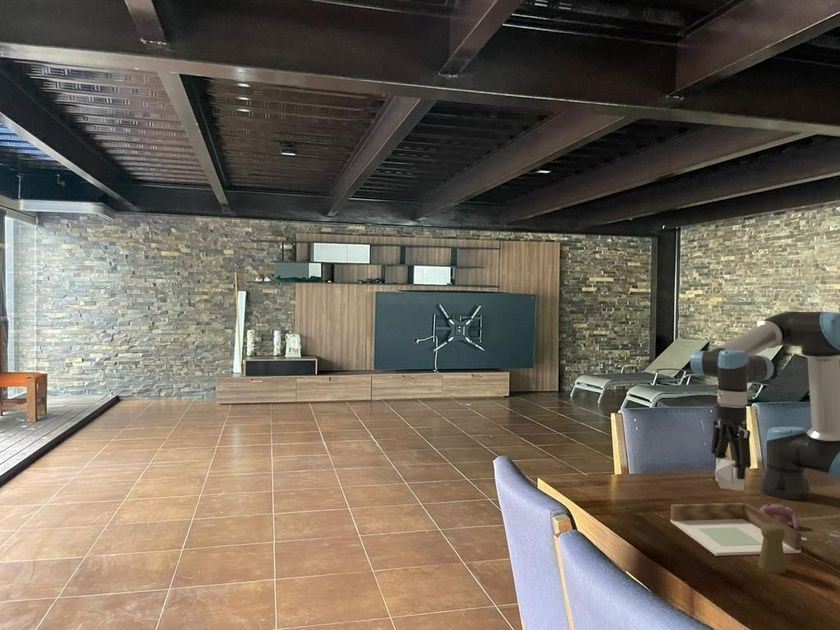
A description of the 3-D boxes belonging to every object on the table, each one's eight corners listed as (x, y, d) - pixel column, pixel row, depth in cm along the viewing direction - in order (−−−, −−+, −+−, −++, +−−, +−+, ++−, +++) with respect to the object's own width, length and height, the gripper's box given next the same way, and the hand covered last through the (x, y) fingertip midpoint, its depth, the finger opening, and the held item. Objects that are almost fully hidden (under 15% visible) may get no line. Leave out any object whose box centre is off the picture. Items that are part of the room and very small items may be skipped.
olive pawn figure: (753, 563, 156) (754, 521, 156) (775, 562, 157) (776, 520, 157) (768, 574, 150) (769, 530, 150) (791, 573, 151) (792, 529, 151)
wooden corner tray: (744, 519, 187) (745, 502, 187) (800, 552, 163) (801, 533, 163) (670, 521, 185) (670, 504, 184) (716, 555, 161) (716, 536, 161)
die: (748, 488, 173) (729, 457, 178) (759, 482, 165) (739, 449, 170) (722, 499, 173) (703, 467, 177) (732, 493, 165) (712, 460, 170)
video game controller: (795, 531, 182) (793, 507, 185) (800, 529, 178) (797, 505, 181) (759, 527, 185) (757, 503, 188) (762, 525, 181) (760, 501, 184)
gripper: (699, 398, 181) (697, 474, 182) (741, 412, 160) (739, 497, 161) (723, 398, 181) (720, 474, 182) (768, 412, 161) (765, 496, 162)
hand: (729, 484), depth 172 cm, fingers closed on die, 8 cm apart
